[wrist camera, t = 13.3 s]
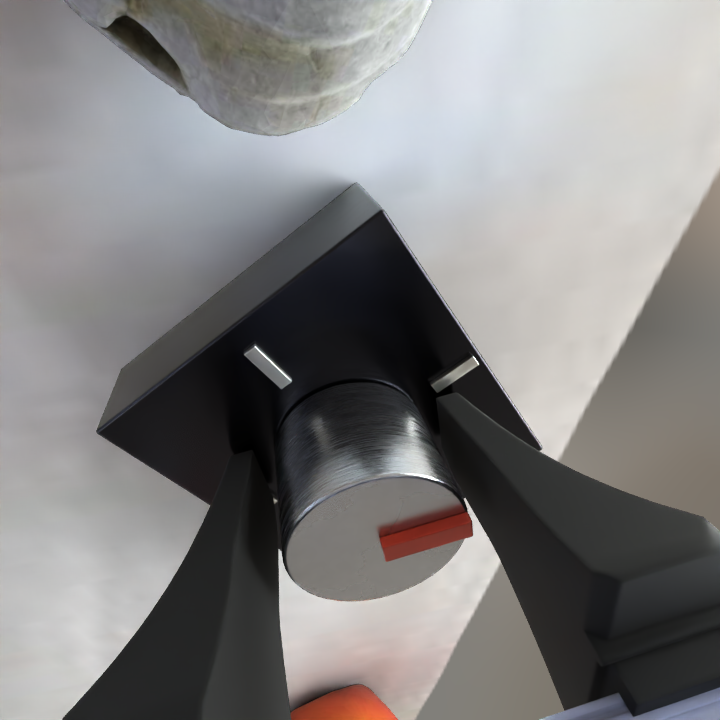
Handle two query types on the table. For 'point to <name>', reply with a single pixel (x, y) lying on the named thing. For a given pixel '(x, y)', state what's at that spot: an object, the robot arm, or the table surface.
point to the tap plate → (299, 351)
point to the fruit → (345, 706)
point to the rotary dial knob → (364, 495)
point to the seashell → (262, 52)
